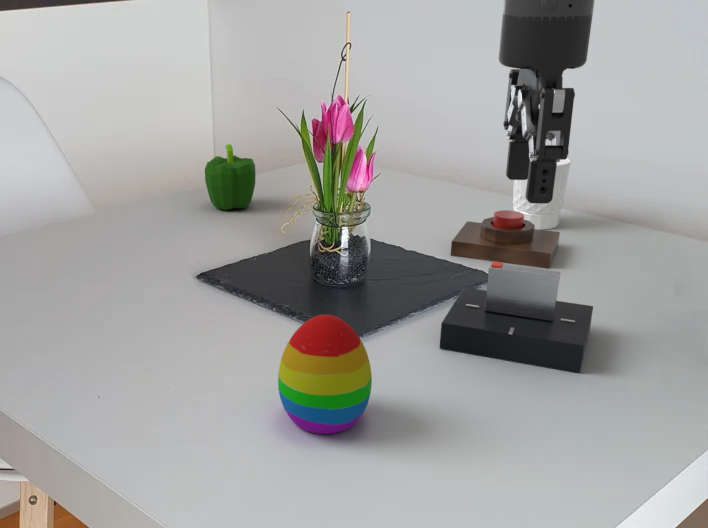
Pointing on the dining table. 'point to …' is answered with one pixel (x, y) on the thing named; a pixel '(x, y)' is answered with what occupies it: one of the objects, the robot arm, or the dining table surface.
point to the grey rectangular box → (522, 291)
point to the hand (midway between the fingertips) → (527, 190)
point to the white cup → (543, 212)
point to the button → (508, 219)
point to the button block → (506, 244)
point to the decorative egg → (324, 376)
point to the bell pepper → (230, 181)
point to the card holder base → (517, 333)
